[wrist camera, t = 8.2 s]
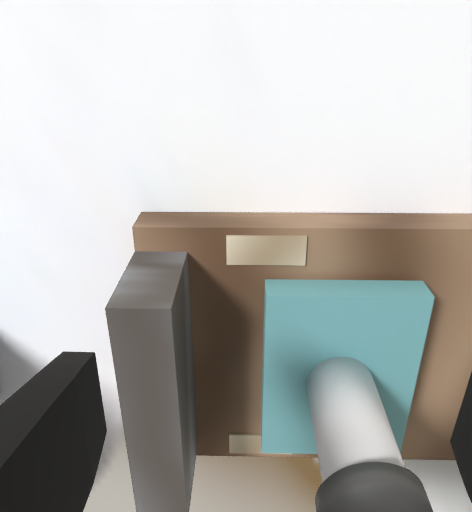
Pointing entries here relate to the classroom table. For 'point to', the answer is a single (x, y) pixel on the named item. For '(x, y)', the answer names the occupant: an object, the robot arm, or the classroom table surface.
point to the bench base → (252, 327)
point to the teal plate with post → (345, 385)
